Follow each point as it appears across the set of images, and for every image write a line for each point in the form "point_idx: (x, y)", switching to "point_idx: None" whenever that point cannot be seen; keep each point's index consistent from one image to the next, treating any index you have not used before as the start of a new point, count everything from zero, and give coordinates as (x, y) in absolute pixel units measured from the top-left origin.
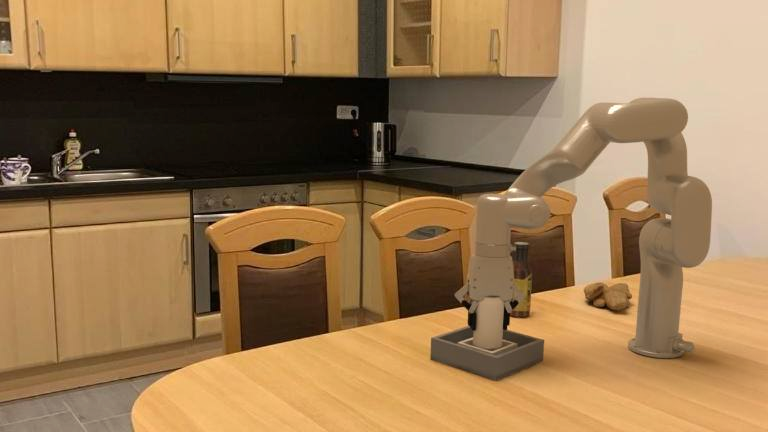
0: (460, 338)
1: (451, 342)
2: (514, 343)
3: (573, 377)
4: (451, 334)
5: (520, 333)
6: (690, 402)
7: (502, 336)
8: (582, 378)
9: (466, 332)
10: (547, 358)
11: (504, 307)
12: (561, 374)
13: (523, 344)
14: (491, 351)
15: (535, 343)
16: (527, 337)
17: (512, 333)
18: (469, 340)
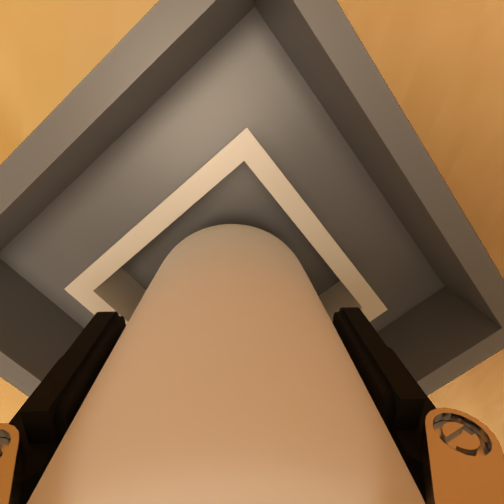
0: (102, 135)
1: (14, 365)
2: (372, 307)
3: (475, 416)
4: (14, 202)
5: (465, 218)
6: None
7: (365, 142)
8: (497, 423)
9: (136, 92)
10: (494, 248)
11: (421, 474)
12: (452, 395)
13: (432, 247)
14: (269, 213)
15: (458, 375)
16: (470, 280)
17: (420, 202)
18: (138, 251)
